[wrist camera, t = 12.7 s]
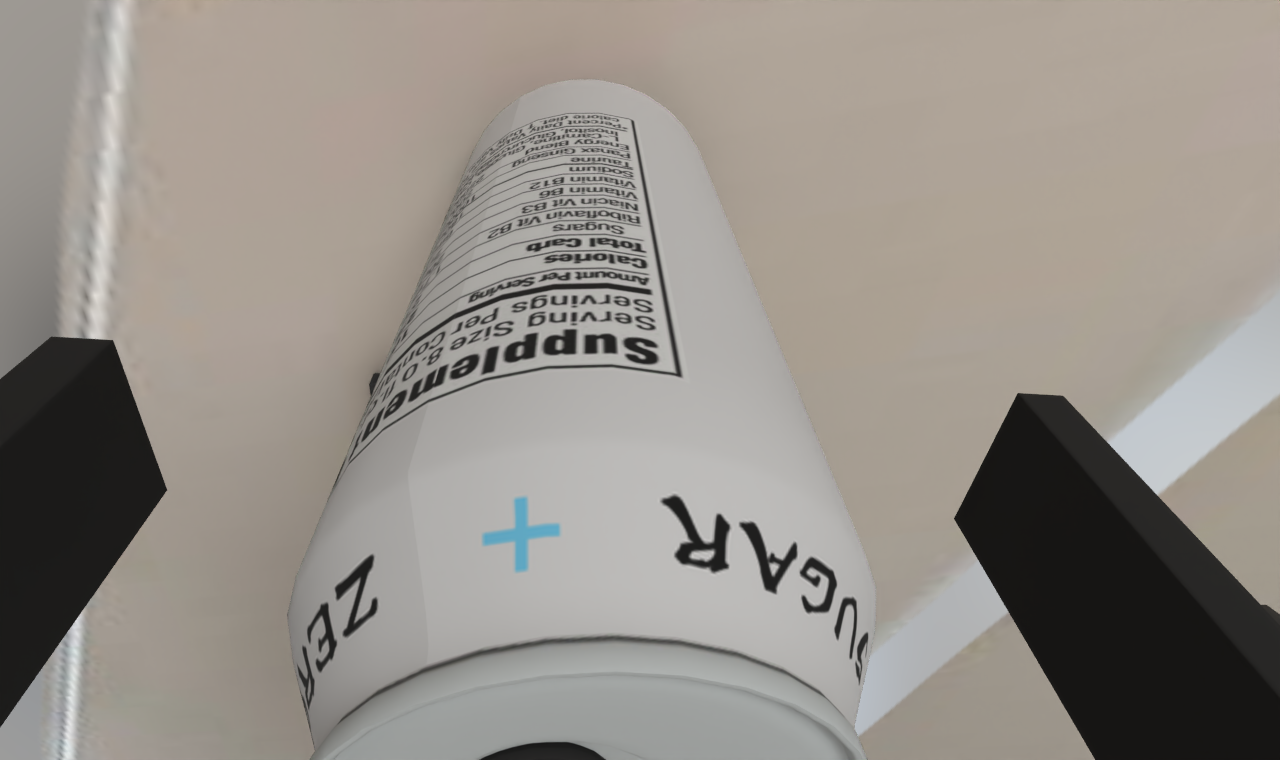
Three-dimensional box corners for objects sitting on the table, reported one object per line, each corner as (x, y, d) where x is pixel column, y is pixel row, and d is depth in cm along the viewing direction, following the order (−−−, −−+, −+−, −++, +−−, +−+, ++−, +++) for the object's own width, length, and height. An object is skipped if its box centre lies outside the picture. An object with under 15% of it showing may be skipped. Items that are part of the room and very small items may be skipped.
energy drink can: (551, 330, 21) (498, 992, 8) (420, 147, 17) (21, 793, 5) (740, 235, 19) (1010, 861, 7) (636, 18, 16) (800, 478, 4)
